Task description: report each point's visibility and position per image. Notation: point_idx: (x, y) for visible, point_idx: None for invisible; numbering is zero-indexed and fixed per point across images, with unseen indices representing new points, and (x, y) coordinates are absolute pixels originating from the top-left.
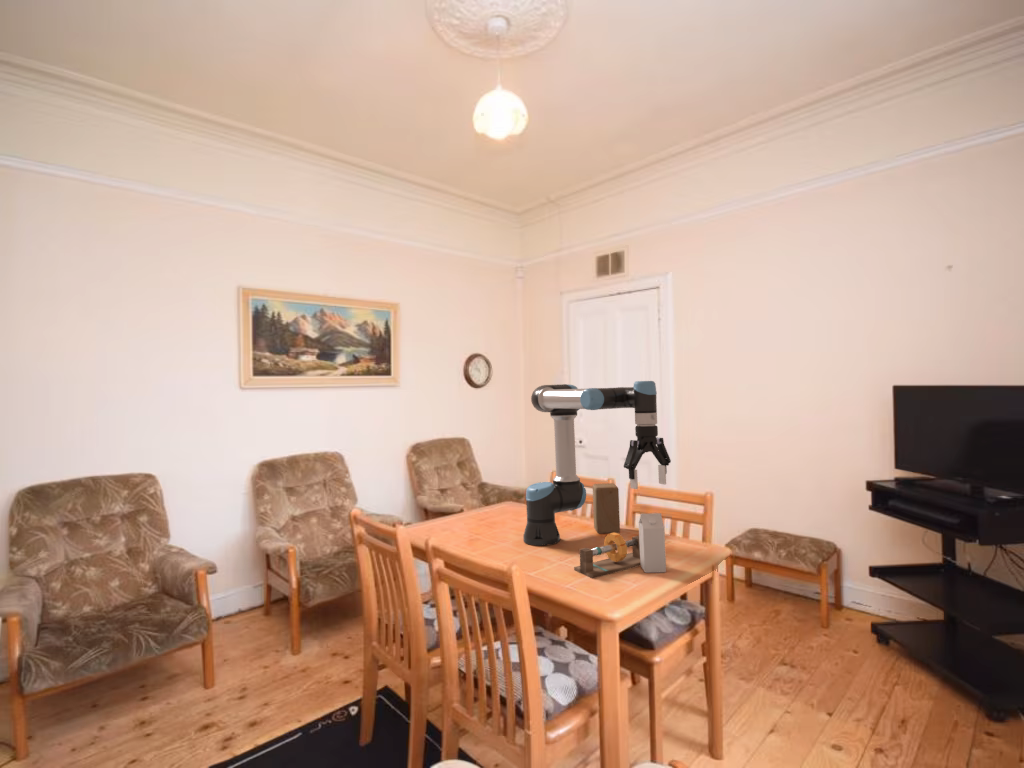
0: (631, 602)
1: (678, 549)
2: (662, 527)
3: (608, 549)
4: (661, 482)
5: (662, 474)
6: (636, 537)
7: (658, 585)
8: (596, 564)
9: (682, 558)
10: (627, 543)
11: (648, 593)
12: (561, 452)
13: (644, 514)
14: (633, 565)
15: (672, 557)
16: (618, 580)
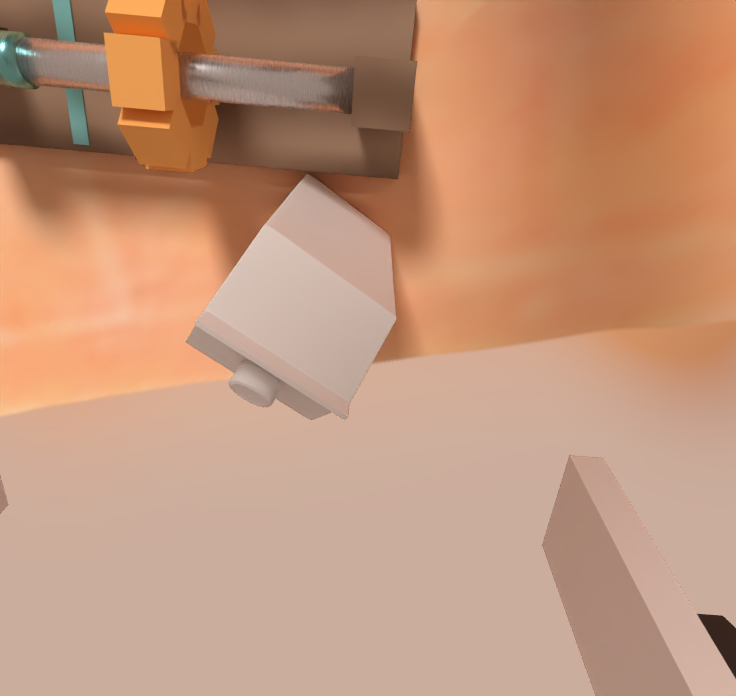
0: (12, 406)
1: (696, 125)
2: (301, 413)
3: (94, 90)
4: (561, 515)
5: (605, 655)
6: (371, 87)
7: (199, 372)
8: (86, 17)
9: (559, 238)
10: (262, 103)
11: (114, 394)
12: None
13: (226, 341)
14: (261, 166)
15: (540, 194)
16: (91, 237)
